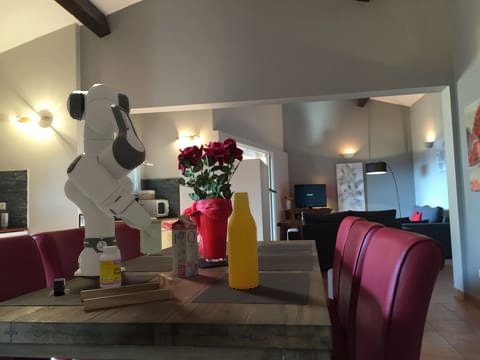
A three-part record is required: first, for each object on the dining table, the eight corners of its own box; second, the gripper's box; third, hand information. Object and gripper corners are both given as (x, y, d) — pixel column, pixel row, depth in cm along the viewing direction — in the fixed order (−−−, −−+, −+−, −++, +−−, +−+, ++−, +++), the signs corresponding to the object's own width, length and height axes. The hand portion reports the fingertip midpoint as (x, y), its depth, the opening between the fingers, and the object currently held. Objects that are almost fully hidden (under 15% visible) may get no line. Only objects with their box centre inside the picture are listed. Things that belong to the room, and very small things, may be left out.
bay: (80, 300, 107) (80, 282, 108) (162, 289, 118) (162, 273, 118) (84, 310, 96) (83, 290, 96) (174, 297, 106) (173, 279, 107)
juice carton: (198, 274, 142) (196, 214, 144) (186, 277, 137) (185, 215, 138) (184, 272, 146) (182, 214, 147) (172, 276, 140) (171, 215, 142)
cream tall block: (140, 252, 112) (139, 220, 112) (157, 250, 114) (157, 219, 115) (143, 253, 107) (143, 221, 108) (162, 252, 110) (161, 220, 110)
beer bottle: (264, 286, 117) (261, 191, 119) (239, 291, 112) (235, 192, 114) (248, 282, 125) (245, 192, 127) (223, 286, 120) (220, 193, 122)
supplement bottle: (114, 288, 121) (114, 247, 122) (95, 288, 122) (95, 248, 123) (125, 284, 128) (124, 245, 128) (107, 284, 129) (106, 245, 130)
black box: (48, 291, 122) (48, 277, 123) (73, 289, 125) (73, 275, 125) (44, 300, 111) (44, 284, 111) (71, 297, 114) (71, 281, 114)
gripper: (104, 210, 116) (137, 240, 119) (114, 210, 97) (153, 246, 101) (119, 195, 118) (152, 225, 122) (132, 192, 100) (170, 228, 103)
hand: (153, 235), depth 111 cm, fingers closed on cream tall block, 5 cm apart
